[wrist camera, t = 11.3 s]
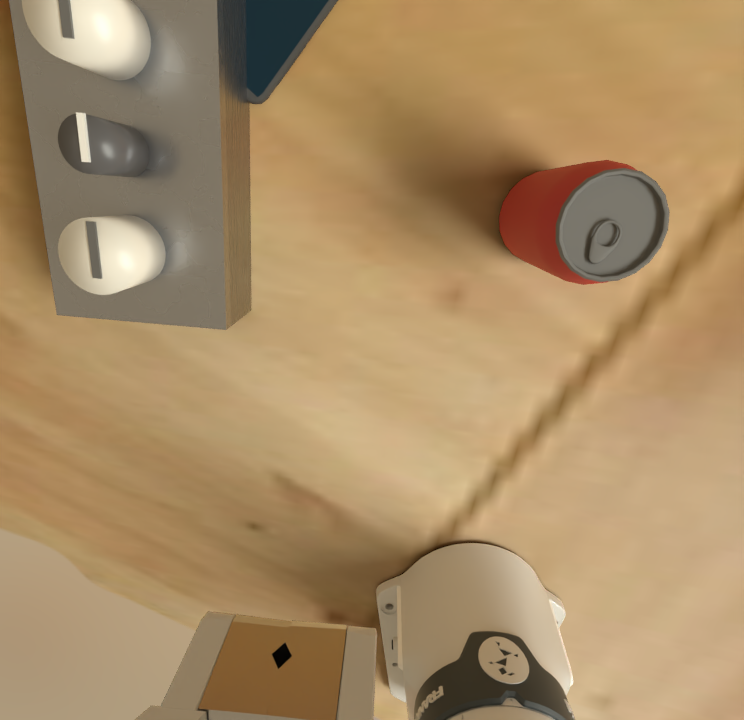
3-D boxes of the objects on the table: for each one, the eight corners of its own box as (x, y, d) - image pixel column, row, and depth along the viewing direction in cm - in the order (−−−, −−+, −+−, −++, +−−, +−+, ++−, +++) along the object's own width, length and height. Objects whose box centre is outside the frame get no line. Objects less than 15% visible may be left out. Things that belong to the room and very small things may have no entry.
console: (251, 310, 38) (226, 329, 32) (106, 297, 38) (56, 315, 33) (248, -14, 31) (215, -62, 25) (69, -28, 31) (-3, -78, 25)
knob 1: (188, 99, 32) (113, 64, 23) (124, 94, 32) (27, 57, 23) (184, 23, 30) (103, -44, 22) (117, 18, 30) (11, -51, 22)
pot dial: (151, 179, 29) (113, 176, 25) (104, 174, 29) (59, 171, 25) (147, 126, 28) (107, 115, 24) (99, 122, 28) (51, 110, 24)
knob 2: (196, 274, 36) (135, 298, 27) (140, 270, 36) (62, 292, 27) (193, 215, 34) (128, 220, 26) (134, 210, 34) (50, 214, 26)
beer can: (482, 244, 36) (523, 265, 24) (521, 156, 33) (586, 134, 22) (560, 274, 36) (636, 310, 25) (603, 190, 34) (708, 186, 23)
